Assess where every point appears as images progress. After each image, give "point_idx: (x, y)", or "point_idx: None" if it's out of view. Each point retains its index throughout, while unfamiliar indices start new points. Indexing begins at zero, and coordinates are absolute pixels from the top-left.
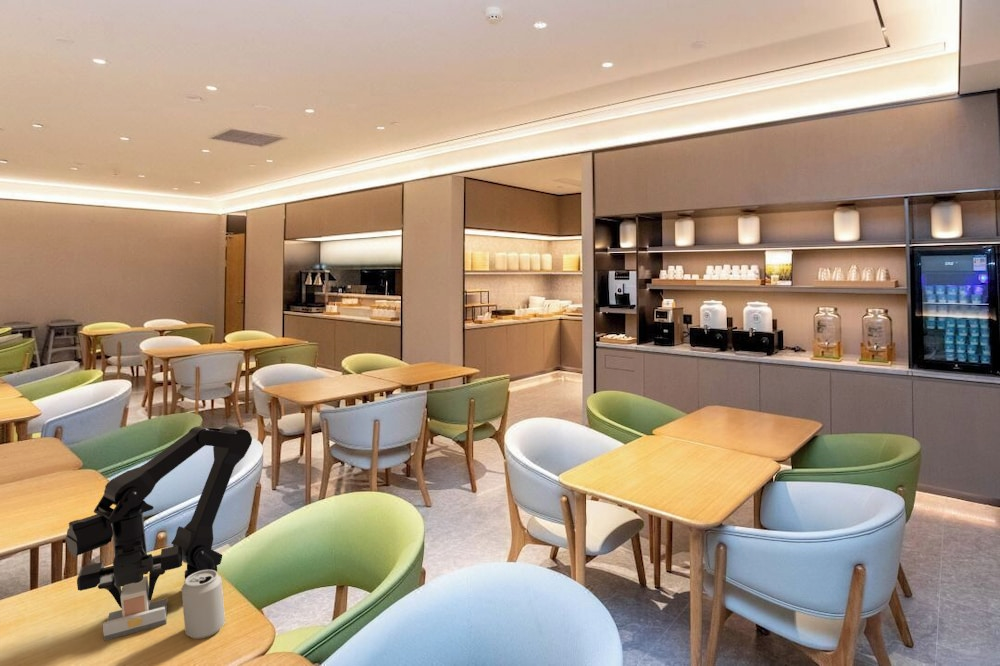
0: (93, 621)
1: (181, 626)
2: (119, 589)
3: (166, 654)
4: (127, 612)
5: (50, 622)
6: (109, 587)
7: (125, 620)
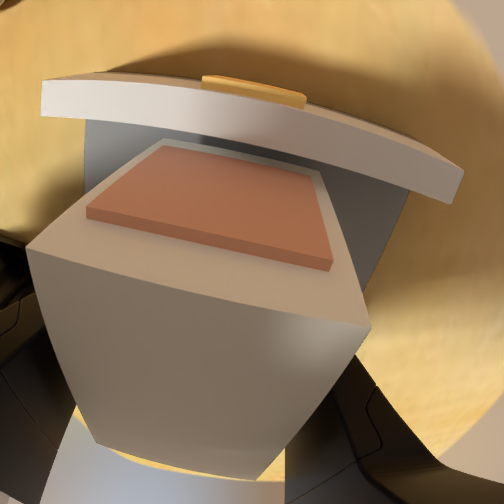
0: (385, 336)
1: (54, 10)
2: (310, 442)
3: None
4: (292, 182)
5: (450, 390)
6: (472, 497)
7: (320, 115)
